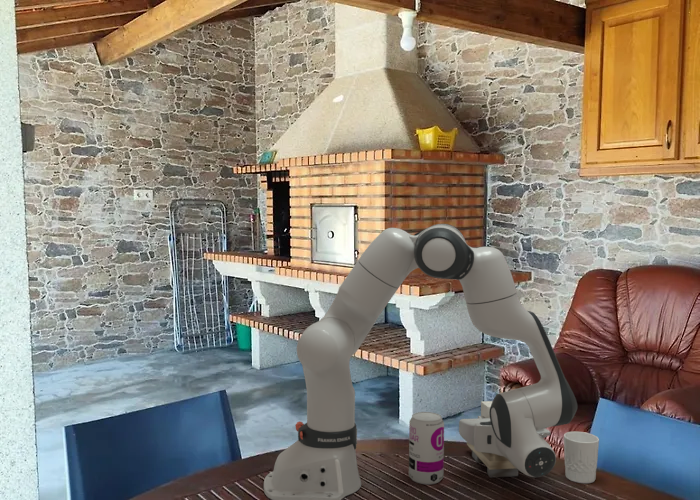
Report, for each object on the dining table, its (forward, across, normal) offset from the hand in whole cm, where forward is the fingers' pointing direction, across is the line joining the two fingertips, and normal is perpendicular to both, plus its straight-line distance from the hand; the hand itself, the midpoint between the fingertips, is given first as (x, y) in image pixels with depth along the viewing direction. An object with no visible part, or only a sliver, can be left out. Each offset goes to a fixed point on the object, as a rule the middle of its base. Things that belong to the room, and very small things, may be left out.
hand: (490, 418), depth 159 cm
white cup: (-12, -18, +11) cm, 25 cm away
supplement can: (-8, +19, +11) cm, 24 cm away
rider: (-1, 0, +6) cm, 6 cm away
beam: (-1, 0, +11) cm, 11 cm away
